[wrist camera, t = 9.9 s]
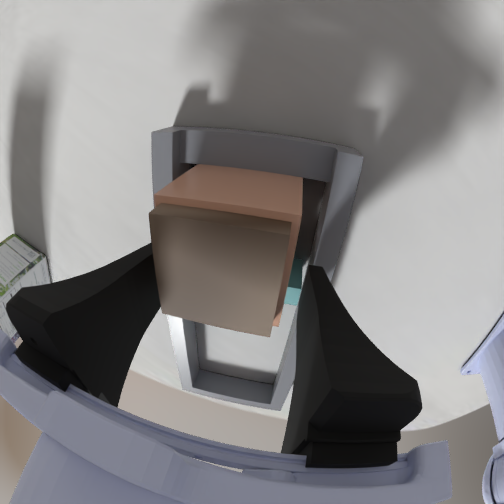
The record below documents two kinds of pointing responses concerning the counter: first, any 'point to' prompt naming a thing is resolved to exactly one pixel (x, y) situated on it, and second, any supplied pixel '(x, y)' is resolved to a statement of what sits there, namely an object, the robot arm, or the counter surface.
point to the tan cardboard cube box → (226, 246)
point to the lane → (324, 244)
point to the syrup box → (18, 275)
